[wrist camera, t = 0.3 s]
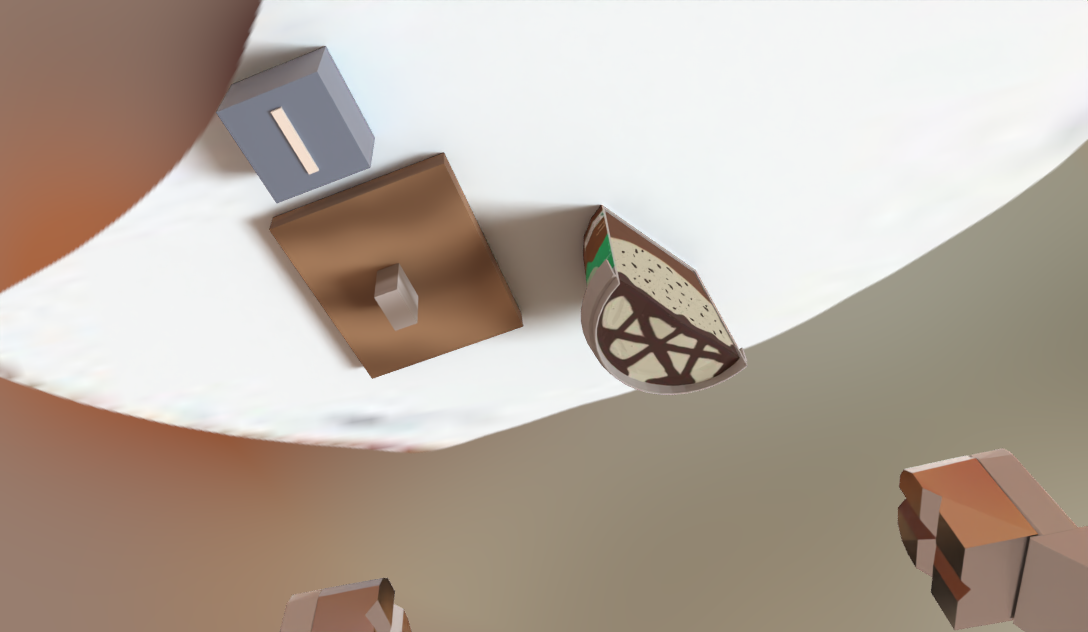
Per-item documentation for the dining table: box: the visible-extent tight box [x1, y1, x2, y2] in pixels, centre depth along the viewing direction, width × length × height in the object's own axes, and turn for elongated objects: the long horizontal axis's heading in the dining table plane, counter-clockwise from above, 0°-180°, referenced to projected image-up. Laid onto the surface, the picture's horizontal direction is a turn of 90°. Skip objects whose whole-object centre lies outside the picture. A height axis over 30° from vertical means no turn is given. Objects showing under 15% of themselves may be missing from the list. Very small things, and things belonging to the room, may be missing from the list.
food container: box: [581, 205, 747, 395], centre depth 51 cm, size 12×6×10 cm, turn 51°
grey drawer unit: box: [216, 46, 375, 203], centre depth 44 cm, size 6×6×4 cm
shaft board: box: [269, 153, 523, 379], centre depth 51 cm, size 14×12×4 cm
